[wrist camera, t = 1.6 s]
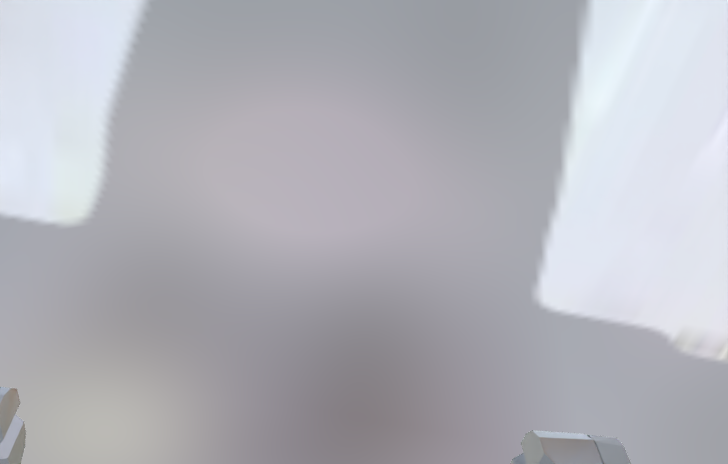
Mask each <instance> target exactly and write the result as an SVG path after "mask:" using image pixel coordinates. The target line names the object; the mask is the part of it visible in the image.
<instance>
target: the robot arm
mask: <svg viewBox="0 0 728 464" xmlns="http://www.w3.org/2000/svg"><path fill="white" fill-rule="evenodd" d="M19 405H20V399H19V395H18V391H17V389H15V388H6V387H0V464H21V461H22V457H23V452H24V448H25V438H26V436H25V435H26V430H25V424H24V421H23V420H22V419H20V418H19V417H18V416H17V415H16V414H15V413H16V411H17V409H18V407H19ZM521 445H522V449H523V453H522V454H521V455H519V456H517V457H515V458H514V459H512V461H511V463H510V464H631V463H630V460H629V458H628V455H627V453H626V450H625V448H624V446H623V444H622V443H621V441H620V440H619V439H617V438H615V437H607V436H593V435H585V434H577V433H563V432H548V431H533V430H532V431H530V432H528V433H527V434H526V435H525V437H524V439H523V440H522V442H521Z"/></svg>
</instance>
